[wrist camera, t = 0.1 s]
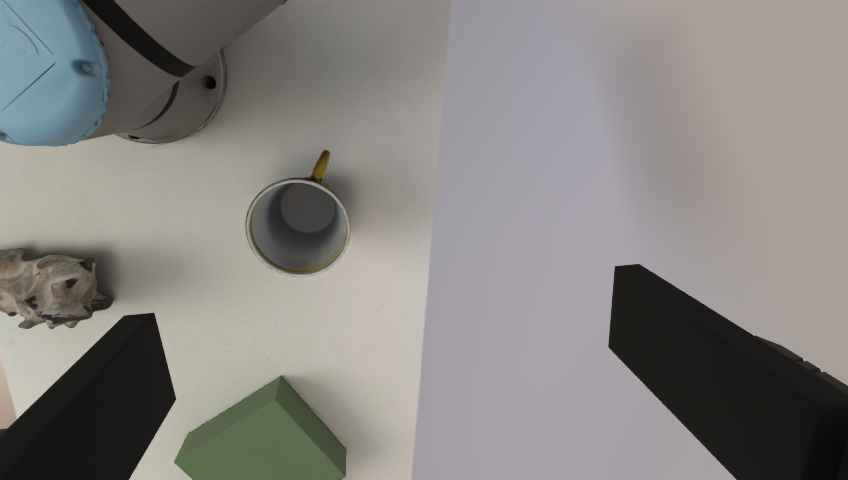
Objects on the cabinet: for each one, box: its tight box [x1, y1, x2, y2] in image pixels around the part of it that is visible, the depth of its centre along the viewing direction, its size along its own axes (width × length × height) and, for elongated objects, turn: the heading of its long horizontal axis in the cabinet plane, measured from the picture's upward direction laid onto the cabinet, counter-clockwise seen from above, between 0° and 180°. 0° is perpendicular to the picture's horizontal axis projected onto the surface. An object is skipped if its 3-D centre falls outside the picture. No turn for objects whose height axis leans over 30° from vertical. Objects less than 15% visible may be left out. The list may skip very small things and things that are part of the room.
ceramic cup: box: [246, 150, 350, 277], centre depth 51 cm, size 13×10×10 cm
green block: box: [174, 376, 346, 480], centre depth 62 cm, size 15×15×5 cm
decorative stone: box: [0, 248, 114, 329], centre depth 51 cm, size 16×9×10 cm
